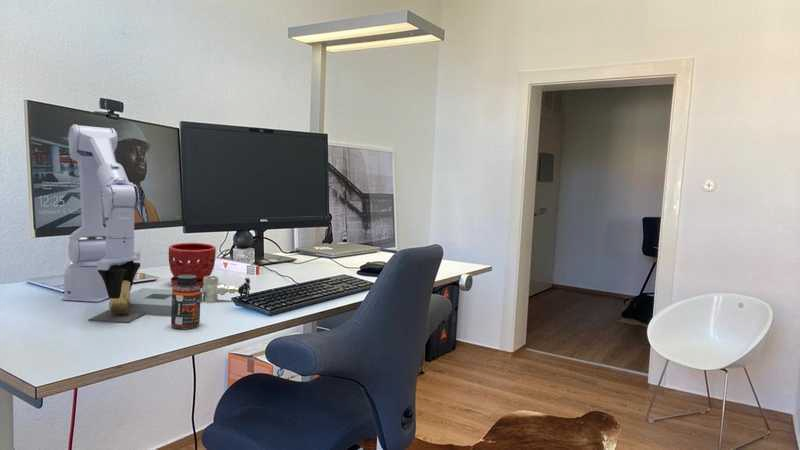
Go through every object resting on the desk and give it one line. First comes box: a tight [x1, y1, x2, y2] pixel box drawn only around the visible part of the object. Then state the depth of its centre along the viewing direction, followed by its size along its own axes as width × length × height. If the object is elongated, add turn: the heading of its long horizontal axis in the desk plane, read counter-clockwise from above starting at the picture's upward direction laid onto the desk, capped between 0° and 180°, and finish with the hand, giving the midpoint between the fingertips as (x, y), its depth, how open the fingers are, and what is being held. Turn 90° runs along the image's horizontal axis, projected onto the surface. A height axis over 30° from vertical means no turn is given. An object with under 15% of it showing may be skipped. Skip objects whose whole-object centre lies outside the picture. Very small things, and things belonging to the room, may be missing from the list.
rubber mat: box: [87, 309, 145, 324], centre depth 122 cm, size 9×9×1 cm
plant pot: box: [168, 242, 217, 288], centre depth 158 cm, size 13×13×12 cm
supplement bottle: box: [170, 275, 202, 330], centre depth 118 cm, size 6×6×11 cm
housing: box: [108, 287, 203, 317], centre depth 133 cm, size 16×16×2 cm
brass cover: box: [109, 279, 131, 314], centre depth 122 cm, size 4×4×7 cm
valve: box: [201, 275, 251, 304], centre depth 142 cm, size 7×7×12 cm
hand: (119, 295), depth 122 cm, fingers closed on brass cover, 4 cm apart
